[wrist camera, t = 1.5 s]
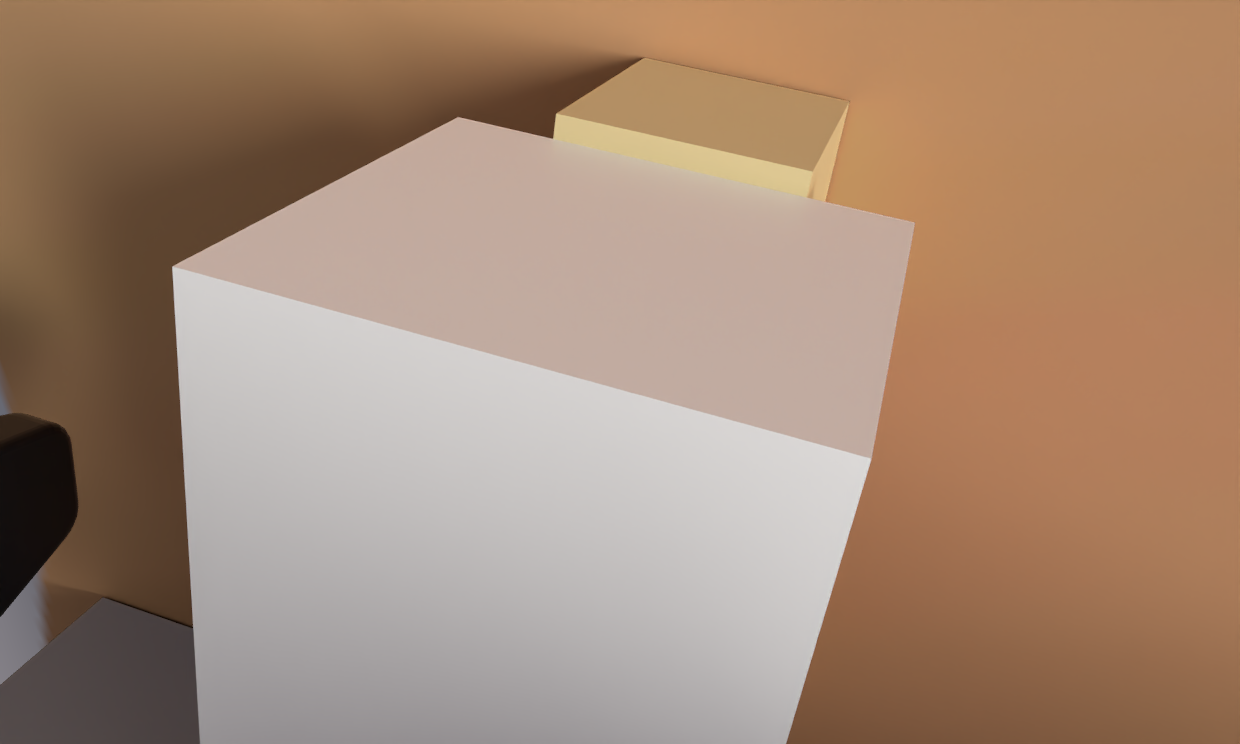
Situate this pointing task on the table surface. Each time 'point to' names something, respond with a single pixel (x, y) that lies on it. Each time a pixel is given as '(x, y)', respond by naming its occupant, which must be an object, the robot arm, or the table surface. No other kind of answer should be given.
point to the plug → (537, 427)
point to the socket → (106, 683)
